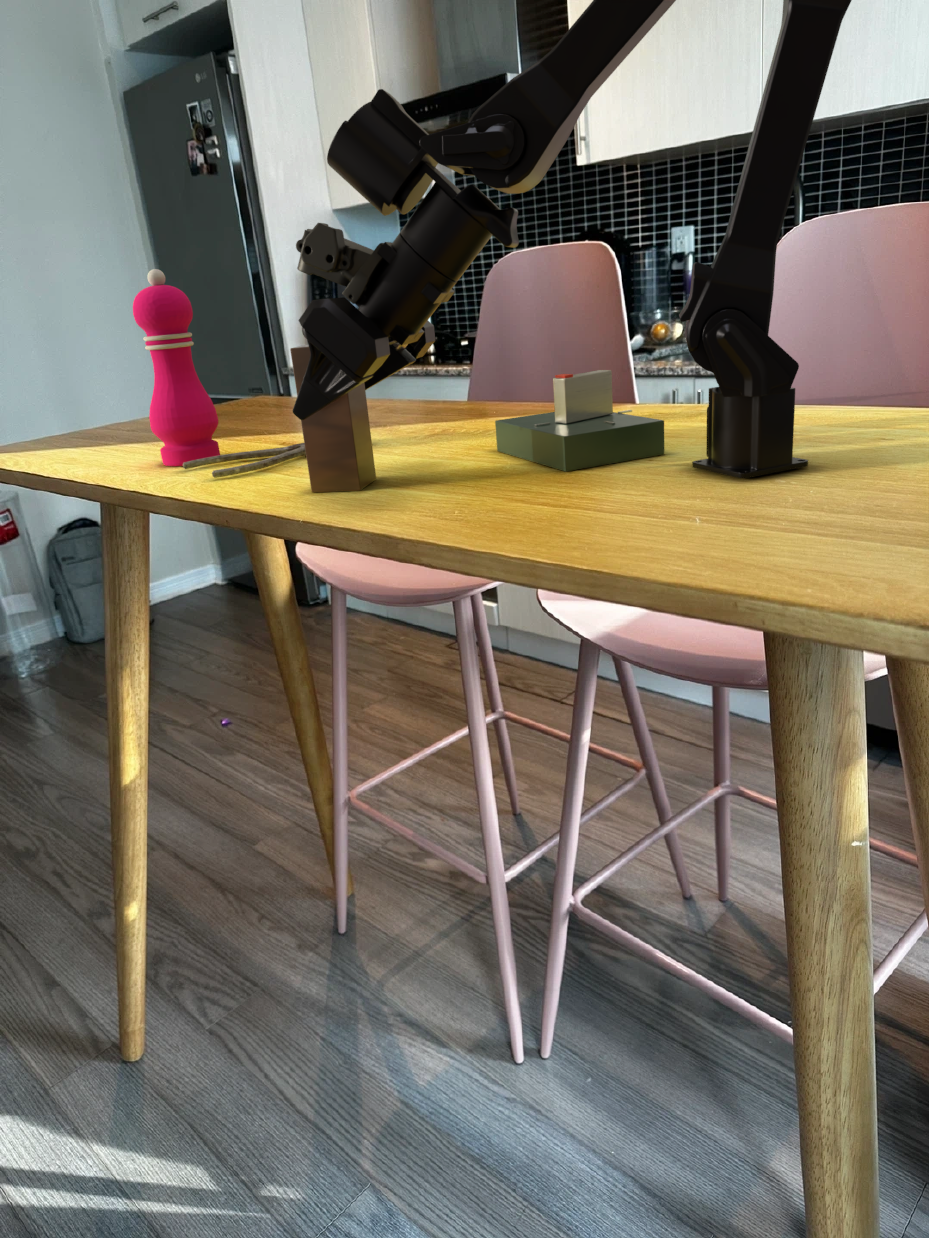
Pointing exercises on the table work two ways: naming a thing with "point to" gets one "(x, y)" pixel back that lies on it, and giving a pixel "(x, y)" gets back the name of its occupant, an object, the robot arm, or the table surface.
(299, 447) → the forked twig
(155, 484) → the table surface
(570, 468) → the dark green flat block
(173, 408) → the pepper mill
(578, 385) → the grey slab
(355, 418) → the walnut block
